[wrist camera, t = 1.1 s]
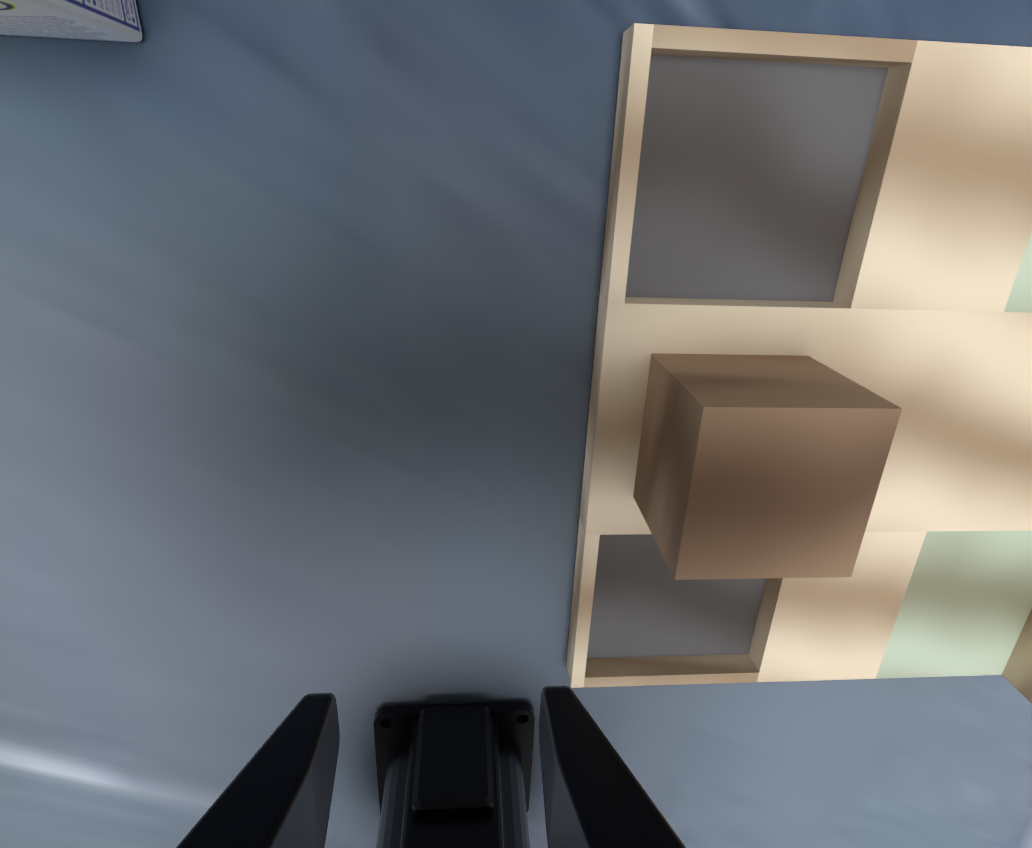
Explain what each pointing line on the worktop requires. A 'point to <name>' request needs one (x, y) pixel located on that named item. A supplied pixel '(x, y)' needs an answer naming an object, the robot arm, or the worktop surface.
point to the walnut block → (759, 465)
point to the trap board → (822, 343)
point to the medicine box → (71, 19)
